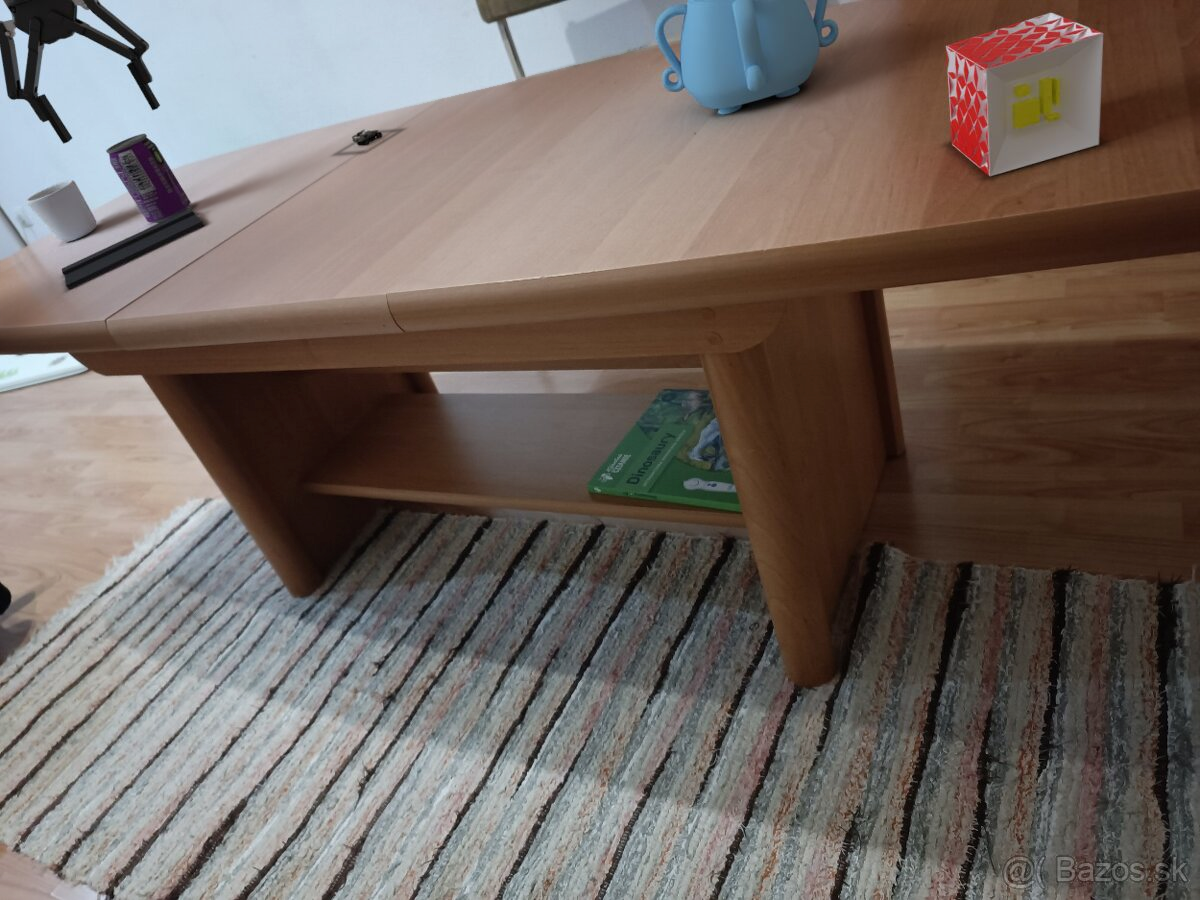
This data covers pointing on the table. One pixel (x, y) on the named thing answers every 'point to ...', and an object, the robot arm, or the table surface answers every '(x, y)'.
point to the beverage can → (148, 178)
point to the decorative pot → (743, 49)
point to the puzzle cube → (1025, 92)
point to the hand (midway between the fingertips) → (112, 124)
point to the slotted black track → (130, 248)
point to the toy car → (366, 137)
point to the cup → (63, 211)
